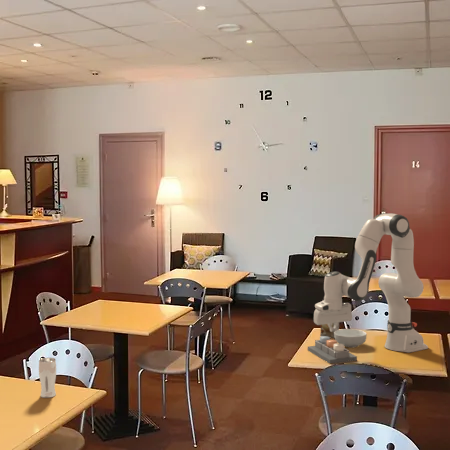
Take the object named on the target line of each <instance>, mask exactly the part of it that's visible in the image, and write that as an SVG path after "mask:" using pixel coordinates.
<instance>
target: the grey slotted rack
mask: <svg viewBox="0 0 450 450" xmlns="http://www.w3.org/2000/svg"><path fill="white" fill-rule="evenodd" d="M307 351H308V352H310V353H311V354H313V355H314V356H316V357H318V358H319V359H320V360H323V361H324V360H325V361H324V362H326V361H327V362H326V363H327V364H329V363H333V364H340V363H341V364H342V363H346V362H357V360H358V356H357V355H355V354H353V353H351V352H350V350H349V349H348V348H346V347H344V351H341V352H336V351H334V347H333V348H329V347H327V344H322V343H320V339H317V340H315V339H314V345H309V346H307Z"/></svg>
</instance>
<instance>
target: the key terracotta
mask: <svg viewBox="0 0 450 450" xmlns="http://www.w3.org/2000/svg"><path fill="white" fill-rule="evenodd" d="M336 343H338V342H337V341H336V340H335V339H330V340H327V347H329V348H333V347H334V344H336Z"/></svg>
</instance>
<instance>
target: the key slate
mask: <svg viewBox="0 0 450 450" xmlns="http://www.w3.org/2000/svg"><path fill="white" fill-rule="evenodd" d="M319 340H320V343H322V344H327V340H331V337H328V336H319Z"/></svg>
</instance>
